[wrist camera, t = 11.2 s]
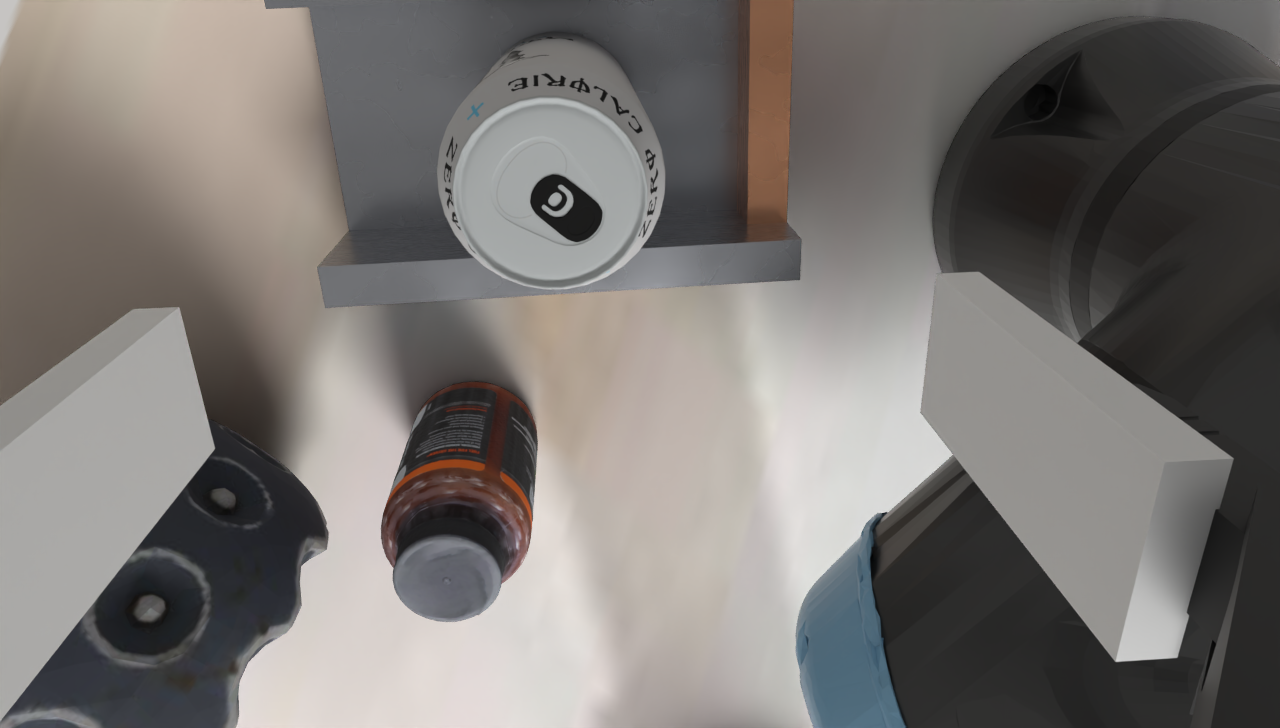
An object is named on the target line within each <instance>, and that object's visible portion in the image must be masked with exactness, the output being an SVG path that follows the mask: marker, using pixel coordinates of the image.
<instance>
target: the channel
mask: <svg viewBox="0 0 1280 728" xmlns="http://www.w3.org/2000/svg"><path fill="white" fill-rule="evenodd" d="M264 2H265V7H266V9H274V8H297V7H309V9H310V15H311V21H312V26H313V32H314V37H315V43H316V48H317V54H318V60H319V65H320V71H321V76H322V82H323V87H324V93H325V99H326V104H327V110H328V115H329V121H330V126H331V132H332V138H333V143H334V149H335V154H336V160H337V165H338V171H339V177H340V182H341V188H342V193H343V199H344V204H345V210H346V215H347V221H348V227H349V231H348V233H347V234H346V235H345V236H344V237H343V238H342V239H341V241H340V242H339V243H338V244H337V245H336V246H335V247H334V248H333V250H332V251H331V252H330V253H329V254H328V255H327V256H326V258H325V259H324V260H323V261H322V262H321V263H320V264H319V266H318V267H317V269H318V274H319V279H320V284H321V289H322V294H323V299H324V304H325V308H332V307H349V306H365V305H382V304H399V303H416V302H433V301H450V300H467V299H484V298H501V297H518V296H535V295H551V294H568V293H585V292H602V291H619V290H636V289H653V288H670V287H687V286H704V285H721V284H737V283H754V282H771V281H788V280H800V264H801V238H800V237H799V236H798V235H797V234H796V232H795V231H794V230H793V229H792V228H791V227H790V225H789V224H788V223H787V200H788V167H789V135H790V103H791V71H792V38H793V6H794V0H264ZM546 32H567V33H572V34H576V35H581V36H583V37H585V38H587V39H589V40H592V41H594V42H596V43H597V44H598V45H600V46H601V47H603V48H604V49H605V50H607V51H608V52H609V53H610V54H611V55H612V56H613V57H614V58H615V60H616V61H617V62H618V63H619V64H620V66H621V68H622V69H623V71H624V72H625V74H626V76H627V77H628V79H629V81H630V83H631V85H632V87H633V89H634V91H635V93H636V95H637V97H638V99H639V101H640V102H641V104H642V106H643V108H644V110H645V112H646V114H647V116H648V118H649V120H650V122H651V124H652V126H653V128H654V130H655V133H656V135H657V138H658V141H659V143H660V146H661V149H662V154H663V160H664V166H665V195H664V199H663V203H662V208H661V212H660V215H659V218H658V220H657V222H656V224H655V227H654V229H653V231H652V233H651V235H650V236H649V238H648V239H647V241H646V242H645V243H644V245H643V246H642V248H641V249H640V251H639V252H638V253H637V254H636V255H635V256H634V257H633V258H631V259H630V260H629V261H628V262H627V263H626V264H625V265H624V266H623V267H621V268H620V269H618V270H617V271H615V272H613V273H612V274H610V275H609V276H607V277H606V278H603V279H600V280H598V281H595V282H593V283H590V284H588V285H585V286H579V287H574V288H569V289H540V288H534V287H529V286H523V285H521V284H518V283H515V282H513V281H510V280H507V279H505V278H502V277H501V276H499V275H498V274H496V273H494V272H493V271H491V270H489V269H488V268H486V267H484V266H483V265H482V264H481V263H480V262H479V261H478V260H477V259H475V258H474V257H473V256H472V255H471V254H470V253H469V252H468V251H467V250H466V249H465V247H464V246H463V245H462V243H461V242H460V241H459V239H458V238H457V237H456V235H455V234H454V232H453V230H452V228H451V226H450V224H449V222H448V220H447V218H446V216H445V214H444V210H443V207H442V203H441V200H440V196H439V191H438V178H437V166H438V158H439V150H440V146H441V143H442V140H443V137H444V134H445V131H446V128H447V126H448V124H449V122H450V121H451V119H452V117H453V116H454V114H455V112H456V111H457V109H458V107H459V106H460V105H461V103H462V102H463V101H464V100H465V99H466V98H467V96H468V95H469V94H470V93H471V92H472V90H473V89H474V88H475V87H476V86H477V84H478V83H479V82H480V81H481V80H482V78H483V77H484V76H485V75H486V74H487V72H488V71H489V70H490V69H491V68H492V67H493V65H494V64H495V63H496V62H497V61H498V60H499V58H500V57H501V56H502V55H503V54H504V53H505V52H506V51H507V50H508V49H509V48H511V47H512V46H514V45H515V44H516V43H518V42H519V41H521V40H523V39H526V38H528V37H530V36H533V35H536V34H541V33H546Z"/></svg>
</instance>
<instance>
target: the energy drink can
mask: <svg viewBox="0 0 1280 728" xmlns="http://www.w3.org/2000/svg"><path fill="white" fill-rule="evenodd" d="M437 178H438V191H439V196H440V200H441V203H442V207H443V210H444V214H445V216H446V218H447V220H448V222H449V224H450V226H451V228H452V230H453V232H454V234H455V235H456V237H457V238H458V239H459V241H460V242H461V243H462V245H463V246H464V247H465V249H466V250H467V251H468V252H469V253H470V254H471V255H472V256H473V257H474V258H475V259H477V260H478V261H479V262H480V263H481V264H482V265H483V266H484V267H486V268H488V269H489V270H491V271H493V272H494V273H496V274H498V275H499V276H501V277H502V278H505V279H507V280H510V281H513V282H515V283H518V284H521V285H523V286H529V287H534V288H540V289H569V288H574V287H579V286H585V285H588V284H590V283H593V282H595V281H598V280H600V279H603V278H606V277H607V276H609V275H610V274H612V273H613V272H615V271H617V270H618V269H620V268H621V267H623V266H624V265H625V264H626V263H627V262H628V261H629V260H630V259H631V258H633V257H634V256H635V255H636V254H637V253H638V252H639V251H640V249H641V248H642V246H643V245H644V243H645V242H646V241H647V239H648V238H649V236H650V235H651V233H652V231H653V229H654V227H655V224H656V222H657V220H658V218H659V215H660V212H661V208H662V203H663V199H664V195H665V166H664V160H663V154H662V149H661V146H660V143H659V141H658V138H657V135H656V133H655V130H654V128H653V126H652V124H651V122H650V120H649V118H648V116H647V114H646V112H645V110H644V108H643V106H642V104H641V102H640V101H639V99H638V97H637V95H636V93H635V91H634V89H633V87H632V85H631V83H630V81H629V79H628V77H627V76H626V74H625V72H624V71H623V69H622V68H621V66H620V64H619V63H618V62H617V61H616V60H615V58H614V57H613V56H612V55H611V54H610V53H609V52H608V51H607V50H605V49H604V48H603V47H601V46H600V45H598V44H597V43H596V42H594V41H592V40H589V39H587V38H585V37H583V36H581V35H576V34H572V33H567V32H546V33H541V34H536V35H533V36H530V37H528V38H526V39H523V40H521V41H519V42H518V43H516V44H515V45H514V46H512V47H511V48H509V49H508V50H507V51H506V52H505V53H504V54H503V55H502V56H501V57H500V58H499V60H498V61H497V62H496V63H495V64H494V65H493V67H492V68H491V69H490V70H489V71H488V72H487V74H486V75H485V76H484V77H483V78H482V80H481V81H480V82H479V83H478V84H477V86H476V87H475V88H474V89H473V90H472V92H471V93H470V94H469V95H468V96H467V98H466V99H465V100H464V101H463V102H462V103H461V105H460V106H459V107H458V109H457V111H456V112H455V114H454V116H453V117H452V119H451V121H450V122H449V124H448V126H447V128H446V131H445V134H444V137H443V140H442V143H441V146H440V150H439V158H438V166H437Z"/></svg>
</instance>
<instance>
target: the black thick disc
mask: <svg viewBox="0 0 1280 728" xmlns="http://www.w3.org/2000/svg"><path fill="white" fill-rule="evenodd" d="M207 419H208V418H207ZM208 423H209V427H210V431H211V435H212V438H213V442H214V446H215V450H214V451H213V452H212V453H211V455H210V456H209V457H208V458H207V460H206V461H205V462H204V463H203V465H202V466H201V467H200V469H199V470H198V471H197V472H196V474H195V475H194V476H193V477H192V479H191V480H190V481H189V482H188V484H187V485H186V486H185V488H184V489H183V490H182V491H181V493H180V494H179V495H178V496H177V498H176V499H175V500H174V502H173V503H172V504H171V505H170V507H169V508H168V509H167V510H166V512H165V513H164V514H163V515H162V517H161V518H160V519H159V521H158V522H157V523H156V524H155V526H154V527H153V528H152V529H151V531H150V532H149V533H148V535H147V536H146V537H145V538H144V540H143V541H142V542H141V543H140V545H139V546H138V547H137V548H136V550H135V551H134V552H133V554H132V555H131V556H130V557H129V559H128V560H127V561H126V562H125V564H124V565H123V566H122V568H121V569H120V570H119V571H118V573H117V574H116V575H115V576H114V578H113V579H112V580H111V581H110V583H109V584H108V585H107V587H106V588H105V589H104V590H103V592H102V593H101V594H100V595H99V597H98V598H97V599H96V600H95V602H94V603H93V604H92V606H91V607H90V608H89V609H88V611H87V612H86V613H85V614H84V616H83V617H82V618H81V620H80V621H79V622H78V623H77V625H76V626H75V627H74V628H73V630H72V631H71V632H70V633H69V635H68V636H67V637H66V639H65V640H64V641H63V642H62V644H61V645H60V646H59V647H58V649H57V650H56V651H55V653H54V654H53V655H52V656H51V658H50V659H49V660H48V661H47V663H46V664H45V665H44V666H43V668H42V669H41V670H40V672H39V673H38V674H37V675H36V677H35V678H34V679H33V680H32V682H31V683H30V684H29V686H28V687H27V688H26V689H25V691H24V692H23V693H22V694H21V696H20V697H19V698H18V699H17V701H16V702H15V703H14V705H13V706H12V707H11V708H10V710H9V711H8V712H7V713H6V715H5V716H4V717H3V718H2V720H1V721H0V728H236V726H237V723H238V717H239V700H238V691H239V682H240V679H241V677H242V675H243V673H244V670H245V668H246V666H247V664H248V662H249V661H250V660H251V659H252V658H253V657H254V656H255V655H256V654H257V653H258V652H259V651H260V650H261V649H262V648H263V647H264V646H265V645H267V644H268V643H270V642H272V641H273V640H275V639H277V638H278V637H280V636H282V635H283V634H285V633H287V631H288V630H289V629H290V628H291V627H292V626H293V623H294V621H295V619H296V617H297V615H298V613H299V610H300V608H301V606H302V604H301V591H300V573H301V565H303V564H304V563H305V562H306V561H308V560H309V559H311V558H313V557H314V556H316V555H318V554H320V553H322V552H323V551H325V550H327V544H328V535H329V533H328V530H327V527H326V524H327V522H326V520H325V517H324V515H323V513H322V511H321V509H320V507H319V505H318V503H317V501H316V500H315V498H314V497H313V496H312V494H311V493H310V492H309V490H308V489H307V488H306V487H305V486H304V485H303V484H302V483H301V482H300V481H299V480H298V479H297V477H296V476H295V475H294V474H293V473H292V472H291V471H290V470H288V469H287V468H286V467H285V466H284V465H283V464H282V463H280V462H279V461H278V460H276V459H275V458H274V457H273V456H271V455H270V454H268V453H267V452H265V451H264V450H262V449H261V448H259V447H258V446H256V445H255V444H254V443H252V442H251V441H249V440H248V439H246V438H245V437H243V436H241V435H240V434H238V433H236V432H234V431H232V430H231V429H229V428H227V427H225V426H223V425H221V424H219V423H217V422H215V421H213V420H210V419H208Z"/></svg>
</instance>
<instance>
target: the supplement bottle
mask: <svg viewBox="0 0 1280 728" xmlns="http://www.w3.org/2000/svg"><path fill="white" fill-rule="evenodd" d="M537 442H538V441H537V430H536V425H535V423H534V420H533V417H532V415H531V414H530V411H529V410H528V408H527V407H526V406H525V404H524V403H523V402H522V401H521V400H520V399H519V398H517V397H516V396H515V395H513V394H512V393H510V392H509V391H507V390H505V389H503V388H501V387H499V386H496V385H493V384H490V383H483V382H465V383H458V384H454V385H451V386H449V387H446V388H444V389H442V390H440V391H438V392H437V393H436V394H434V395H433V396H432V397H431V398H430V399H429V400H428V401H427V402H426V403H425V404H424V405H423V407H422V408H421V410H420V412H419V413H418V415H417V418H416V420H415V422H414V425H413V427H412V430H411V433H410V436H409V439H408V442H407V445H406V448H405V451H404V454H403V457H402V460H401V463H400V466H399V469H398V472H397V474H396V477H395V479H394V483H393V486H392V489H391V492H390V495H389V498H388V501H387V504H386V507H385V510H384V513H383V518H382V524H381V539H382V545H383V549H384V552H385V554H386V557H387V559H388V560H389V562H390V564H391V565H392V567H393V568H394V569H393V583H394V588H395V590H396V593H397V595H398V596H399V598H400V600H401V601H402V602H403V603H404V604H405V605H406V606H407V607H408V608H409V609H411V610H412V611H413V612H415V613H416V614H418V615H420V616H423V617H425V618H428V619H431V620H435V621H442V622H457V621H462V620H465V619H468V618H471V617H474V616H476V615H479V614H480V613H481V612H483V611H484V610H486V609H487V608H488V607H489V606H490V605H491V604H492V603H493V602H494V600H495V599H496V597H497V596H498V593H499V591H500V587H501V584H502V583H503V582H505V581H506V580H508V579H509V578H510V577H511V576H512V575H513V574H514V573H515V572H516V571H517V569H518V568H519V567H520V565H521V564H522V562H523V560H524V558H525V556H526V554H527V551H528V548H529V544H530V539H531V529H532V521H533V504H534V491H535V475H536V461H537V445H538V443H537Z"/></svg>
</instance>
